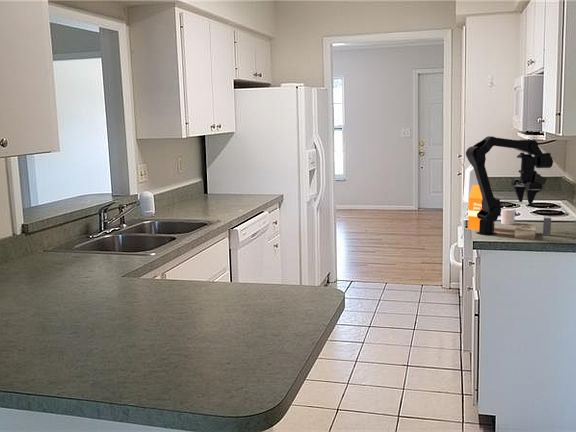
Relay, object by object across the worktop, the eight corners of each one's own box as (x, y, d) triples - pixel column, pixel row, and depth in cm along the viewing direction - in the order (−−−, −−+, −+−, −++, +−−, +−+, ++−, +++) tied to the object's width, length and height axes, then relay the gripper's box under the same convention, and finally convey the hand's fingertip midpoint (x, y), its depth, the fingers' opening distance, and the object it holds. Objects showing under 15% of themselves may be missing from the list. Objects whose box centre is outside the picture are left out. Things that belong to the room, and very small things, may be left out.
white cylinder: (503, 222, 309) (503, 207, 308) (517, 223, 305) (517, 209, 303) (497, 223, 304) (498, 209, 303) (512, 225, 299) (512, 210, 298)
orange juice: (474, 226, 298) (476, 184, 294) (492, 228, 292) (494, 185, 289) (467, 228, 292) (469, 185, 289) (486, 230, 286) (487, 186, 283)
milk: (487, 203, 376) (489, 159, 372) (468, 203, 376) (469, 159, 372) (481, 200, 388) (483, 158, 384) (463, 200, 388) (464, 158, 384)
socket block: (534, 239, 265) (535, 232, 264) (514, 238, 268) (514, 231, 268) (535, 232, 280) (536, 226, 279) (516, 231, 283) (516, 225, 282)
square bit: (550, 236, 272) (551, 218, 271) (542, 235, 273) (543, 218, 272) (550, 234, 275) (551, 217, 273) (542, 234, 276) (543, 217, 275)
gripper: (556, 170, 269) (553, 206, 271) (535, 166, 287) (533, 200, 289) (530, 170, 268) (528, 206, 270) (511, 166, 286) (509, 200, 289)
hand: (525, 203), depth 280 cm, fingers open, 9 cm apart
